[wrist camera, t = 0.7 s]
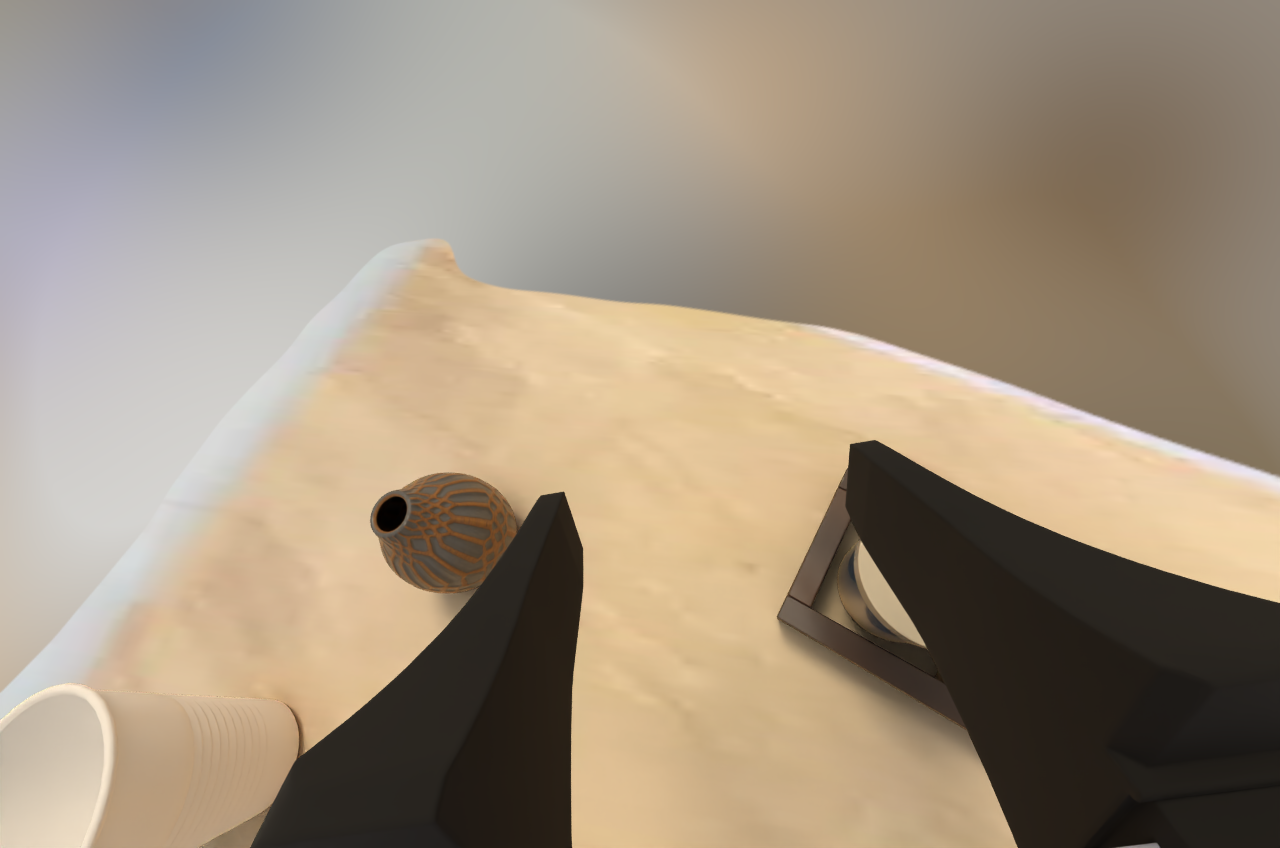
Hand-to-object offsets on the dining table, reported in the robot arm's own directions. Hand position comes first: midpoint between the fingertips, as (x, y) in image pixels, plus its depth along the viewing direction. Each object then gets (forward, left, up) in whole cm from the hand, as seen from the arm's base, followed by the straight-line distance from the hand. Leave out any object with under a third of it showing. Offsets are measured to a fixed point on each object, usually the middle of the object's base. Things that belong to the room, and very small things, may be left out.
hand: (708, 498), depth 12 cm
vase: (+10, +14, -17) cm, 24 cm away
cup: (+5, +32, -17) cm, 36 cm away
